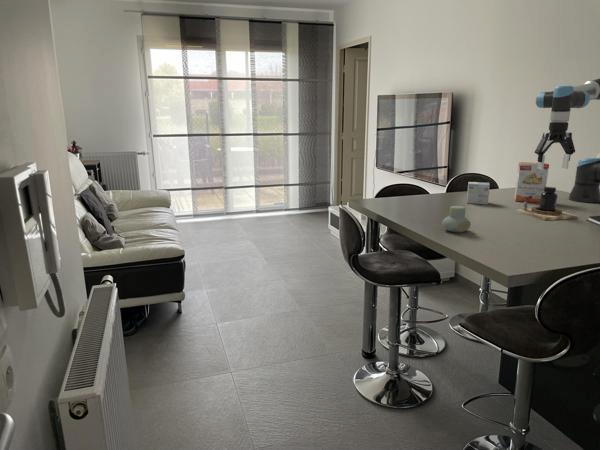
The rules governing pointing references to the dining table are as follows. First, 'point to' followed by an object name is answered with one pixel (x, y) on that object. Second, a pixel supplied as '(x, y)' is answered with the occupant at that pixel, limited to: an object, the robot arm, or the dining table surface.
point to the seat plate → (547, 217)
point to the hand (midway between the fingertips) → (552, 168)
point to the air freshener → (456, 220)
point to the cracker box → (530, 182)
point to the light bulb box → (478, 193)
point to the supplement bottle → (548, 199)
